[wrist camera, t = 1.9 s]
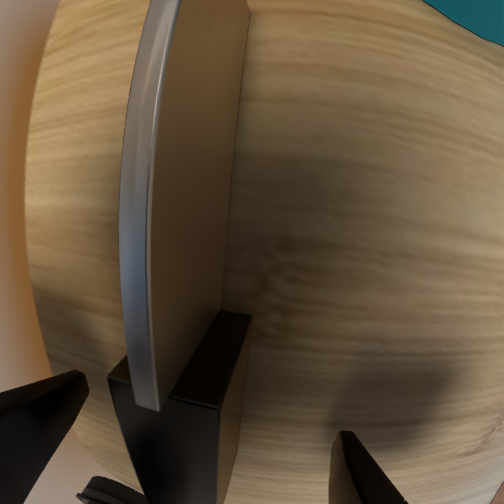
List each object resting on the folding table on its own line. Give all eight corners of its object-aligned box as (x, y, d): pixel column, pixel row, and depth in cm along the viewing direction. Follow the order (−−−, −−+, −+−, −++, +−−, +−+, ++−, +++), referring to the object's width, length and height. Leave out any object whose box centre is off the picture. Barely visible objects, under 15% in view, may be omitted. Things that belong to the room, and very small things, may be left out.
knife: (236, 454, 10) (213, 540, 6) (183, 442, 11) (146, 520, 6) (283, 11, 6) (266, -97, 2) (203, 13, 6) (138, -76, 2)
